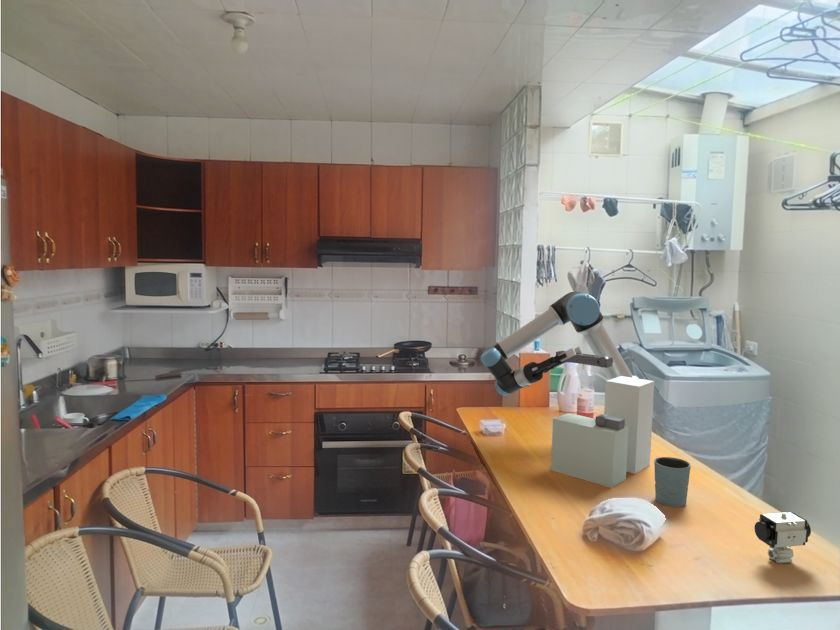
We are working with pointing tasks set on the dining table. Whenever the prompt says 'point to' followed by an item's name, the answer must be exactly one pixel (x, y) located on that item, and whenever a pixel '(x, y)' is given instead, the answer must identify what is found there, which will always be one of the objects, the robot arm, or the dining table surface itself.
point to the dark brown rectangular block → (590, 359)
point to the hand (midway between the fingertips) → (577, 350)
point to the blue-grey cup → (671, 481)
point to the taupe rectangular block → (633, 416)
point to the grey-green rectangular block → (590, 448)
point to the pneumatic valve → (782, 534)
